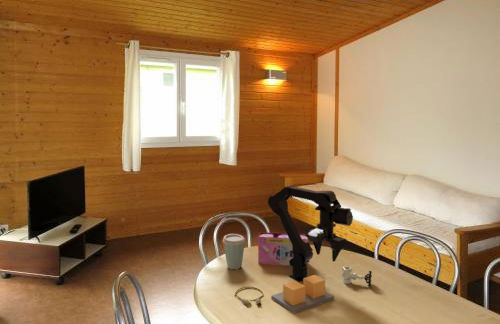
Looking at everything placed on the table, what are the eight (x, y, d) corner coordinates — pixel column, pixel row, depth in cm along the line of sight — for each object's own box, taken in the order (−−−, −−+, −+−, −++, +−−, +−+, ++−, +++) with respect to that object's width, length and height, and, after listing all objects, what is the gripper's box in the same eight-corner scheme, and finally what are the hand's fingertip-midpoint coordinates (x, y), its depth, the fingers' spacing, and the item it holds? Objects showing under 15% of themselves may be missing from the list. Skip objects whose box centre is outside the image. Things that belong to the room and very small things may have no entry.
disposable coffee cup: (249, 265, 189) (249, 235, 187) (237, 273, 180) (236, 241, 178) (231, 261, 194) (231, 231, 192) (218, 268, 185) (217, 237, 183)
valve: (340, 285, 168) (370, 289, 164) (341, 270, 167) (370, 274, 163) (342, 278, 174) (371, 282, 170) (343, 264, 173) (372, 268, 169)
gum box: (308, 261, 195) (309, 234, 193) (307, 267, 187) (308, 239, 185) (260, 257, 199) (260, 231, 197) (257, 263, 191) (257, 236, 190)
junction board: (271, 298, 156) (271, 281, 155) (309, 286, 167) (310, 269, 166) (294, 313, 144) (294, 294, 143) (333, 299, 155) (334, 281, 154)
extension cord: (229, 305, 151) (229, 300, 151) (239, 288, 166) (239, 283, 166) (260, 309, 149) (260, 304, 148) (267, 290, 164) (267, 286, 164)
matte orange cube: (295, 295, 156) (295, 280, 155) (305, 301, 151) (305, 286, 150) (283, 299, 153) (283, 284, 152) (293, 305, 148) (293, 290, 147)
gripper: (296, 219, 167) (296, 255, 169) (328, 230, 152) (327, 269, 154) (316, 215, 173) (316, 249, 175) (348, 225, 158) (347, 263, 160)
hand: (325, 257), depth 166 cm, fingers open, 9 cm apart
